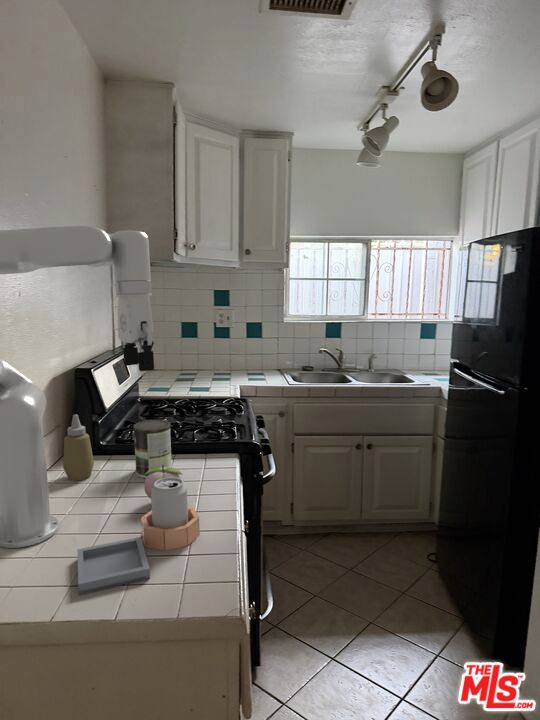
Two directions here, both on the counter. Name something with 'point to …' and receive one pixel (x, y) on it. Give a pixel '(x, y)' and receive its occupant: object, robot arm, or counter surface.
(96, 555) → the slate tray
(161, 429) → the coffee can
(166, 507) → the can
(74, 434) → the squeeze bottle
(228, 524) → the counter surface
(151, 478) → the decorative fruit
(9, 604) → the counter surface
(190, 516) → the terracotta ring
